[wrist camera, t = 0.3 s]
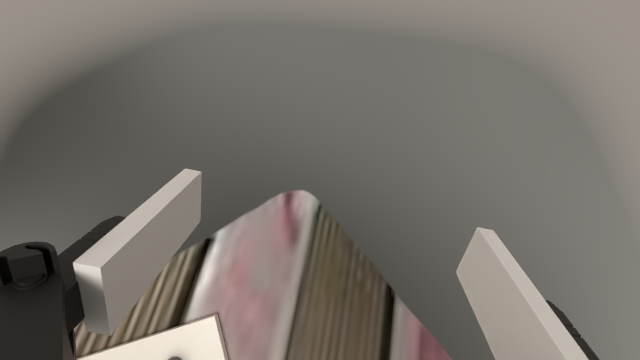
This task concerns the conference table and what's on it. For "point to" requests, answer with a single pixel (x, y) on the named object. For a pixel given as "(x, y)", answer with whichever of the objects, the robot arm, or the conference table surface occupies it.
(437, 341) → the conference table surface
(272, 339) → the conference table surface
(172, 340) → the plate
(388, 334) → the conference table surface
